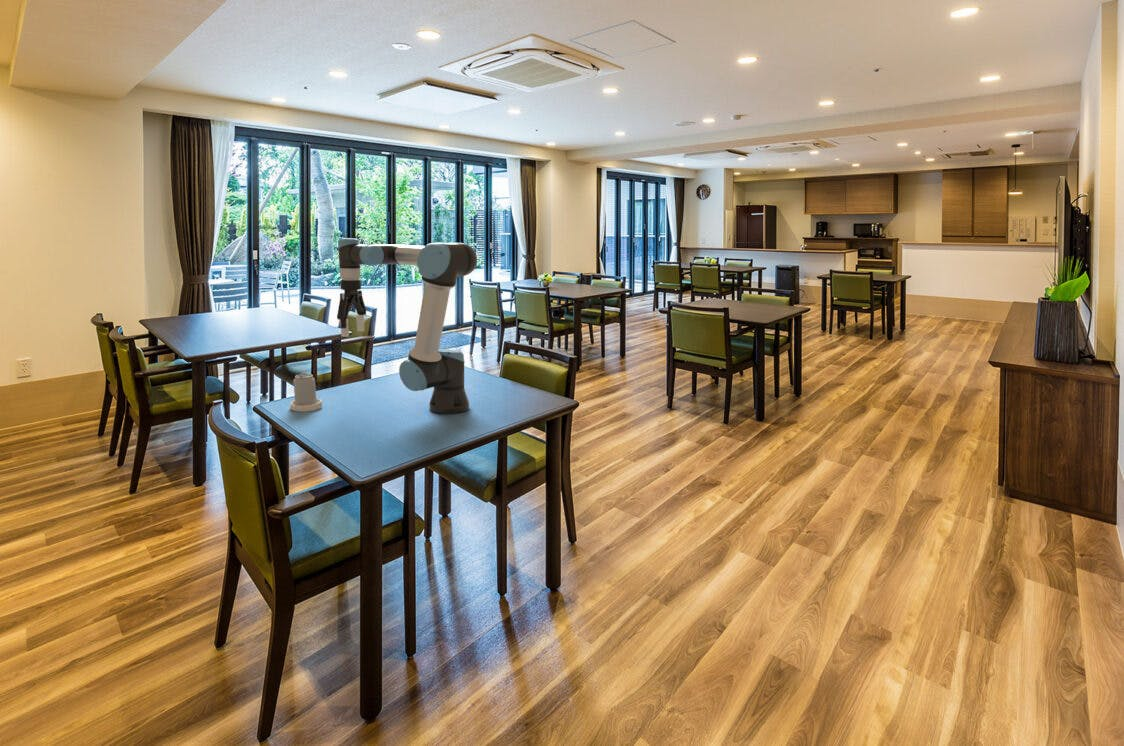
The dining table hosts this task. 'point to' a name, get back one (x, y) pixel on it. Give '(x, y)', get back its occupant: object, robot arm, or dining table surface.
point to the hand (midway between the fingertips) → (353, 333)
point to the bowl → (306, 406)
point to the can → (304, 389)
